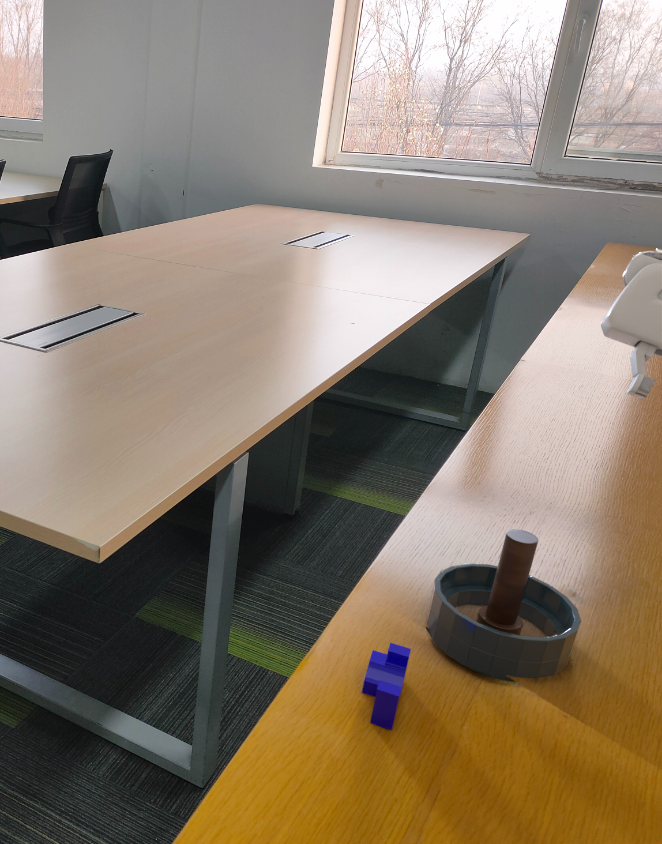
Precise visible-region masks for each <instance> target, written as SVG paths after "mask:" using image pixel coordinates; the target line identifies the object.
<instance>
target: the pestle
mask: <svg viewBox="0 0 662 844" xmlns="http://www.w3.org/2000/svg"><path fill="white" fill-rule="evenodd" d="M538 544H539V538H538V536H537V535H536V534H533V533H532V532H529V531H528V530H523V529H519V528H513V529H512V528H511V529H508V530H507V531H506V533H505V536H504V540H503V544H502V548H501V552H500V556H499V559H498V563H497V566H498V567H497V571H496V575H495V579H494V583H493V587H492V591H491V595H490V598H489V602H488V605H487V606H483V605H482V606H481V607H480V608H479V609H478V613H477V616H476V620H475V621H476V622H478V623H480V624H482V625H485V626H488V627H490V628H493V629H496V630H498V631H501V632H506V633H510V634H515V635H519V636H521V634H522V630H523V627H524V621H523V618H521V617H520V616H519V615H518V613H519V609H520V606H521V602H522V598H523V595H524V591H525V588H526V584H527V580H528V577H529V575H530V573H531V569H532V565H533V562H534V558H535V555H536V551H537V547H538Z"/></svg>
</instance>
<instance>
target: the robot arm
mask: <svg viewBox="0 0 662 844" xmlns="http://www.w3.org/2000/svg"><path fill="white" fill-rule="evenodd" d="M622 282H623V285H624V288H623V290H622V291H621V292H620V293H619V295H618V296H617V297H616V299H615V300H614V301H613V303H612V305H611V306H610V308H609V309H608V311H607V312H606V314H605V315H604V317H603V319H602V320H601V322H600V328H601V331H602V334H603V336H604V337H605V338H608V339H610V340H613V341H615V342H618V343H622V344H624V345H627V346H629V347H632V348H634V349H633V351H632V352H631V354H630V357H629V361H630V367H631V374H632V378H633V379H632V381H631V383H630V384H629V387H628V389H627V390H626V392H625V393H626V394H627V395H629V396H632V397H635V398H637V399H640V400H645V399H646V398H648V396H649V394H650V393H651V388H653V387H654V385H655V383H656V379H654V378H651V377H650V376H648V374H647V373H648V372H647V364H646V362H648V361H649V360H650V359H652V358H653V356H654V355H655V356H657V357H660V358H662V248H656V249H655V250H644V251H640V252H638V253H637V254H635V255H633V257H632V258H631V259H630V261H629V262H628V264H627V266H626V268H625V270H624V272H623V274H622Z"/></svg>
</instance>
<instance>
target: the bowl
mask: <svg viewBox="0 0 662 844" xmlns="http://www.w3.org/2000/svg"><path fill="white" fill-rule="evenodd" d="M497 567H498V565H495V564H488V563H471V562H470V563H462V564H453V565H451V566H449V567H447V568H445V569H442V570H440V572H439V573H438V574H437V576H436V577H435V578H434V581H433V584H432V590H431V594H430V598H429V604H428V608H427V612H426V626H425V629H426V631H427V633H428V635H429V636H430V638H431V640H432V642H433V643H434V644H435V645H436V646H437V647H438V648H439V649H440V650H441V651H442V652H443V653H444V654H445V655H446V656H449V657H450V658H451V659H453V660H454V661H456V662H457V663H458V664H460V665H462V666H464V667H465V668H467V669H469V670H471V671H473V672H475V673H478V674H480V675H483V676H486V677H488V678H492V679H496V680H500V681H505V682H510V683H511V682H512V683H517V681H516V680H514V679H513V678H523V679H541V678H546V677H551V676H555V675H557V674H559V673H560V672H562V671H563V670H564V669H566V668H567V667H568V663H569V661H570V659H571V656H572V652H573V650H574V646H575V642H576V640H577V636H578V633H579V631H580V626H581V623H582V619H581V616H580V615H581V614H580V613H579V610H578V608H577V606H576V605H575V604H574V603H573V602H572V600H570V599H569V597H568V596H566V595H565V594H564V593H562V592H561V591H560V590H558V589H557V588H556V587H554V586H552V585H551V584H549V583H547V582H545V581H543V580H541V579H539V578H537V577H535V576H532V575H531V574H529V577H528V580H527V584H526V588H525V591H524V595H523V598H522V602H521V606H520V609H519V613H518V615H519V616H520V617H521V619H522V620H524V621H527V622H528V623H530V624H532V625H533V626H534V627H536V628H537V629H538V630H539V631H540V632H541V633H543V634H544V637H542V636H525V635H520V636H519V635H515V634H510V633H506V632H501V631H498V630H496V629H493V628H490V627H488V626H485V625H482V624H480V623H478V622H476V620H474V619H473V618H471V617H469V616H468V615H466V614H465V613H462V612H460V611H459V610H458V609H457V608H456V607H462V606H469V605H470V606H482V607H483V606H487V605H488V602H489V598H490V595H491V591H492V587H493V583H494V579H495V575H496V571H497Z"/></svg>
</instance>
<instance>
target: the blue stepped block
mask: <svg viewBox="0 0 662 844" xmlns="http://www.w3.org/2000/svg"><path fill="white" fill-rule="evenodd" d="M411 651H412V649H411V648H410V647H406V646H403V645H400V644H396V643H393V642H390V643H389V646H388V650H387V653H384V652H380V651H377V650H374V649H373V650H372V651H371V654H370V658H369V661H368V665H367V669H366V673H365V676H364V680H363V684H362V688H361V693H362V694H365V695H368V696H371V697H374V701H373V707H372V711H371V717H370V720H369V721H370V722H369V723H370V724H371V725H374V726H378V727H381V728H383V729H386V730H389V731H393V727H394V724H395V720H396V716H397V711H398V707H399V703H400V699H401V694H402V690H403V686H404V682H405V678H406V675H407V674H406V673H407V669H408V666H409V665H408V664H409V660H410V656H411Z"/></svg>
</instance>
